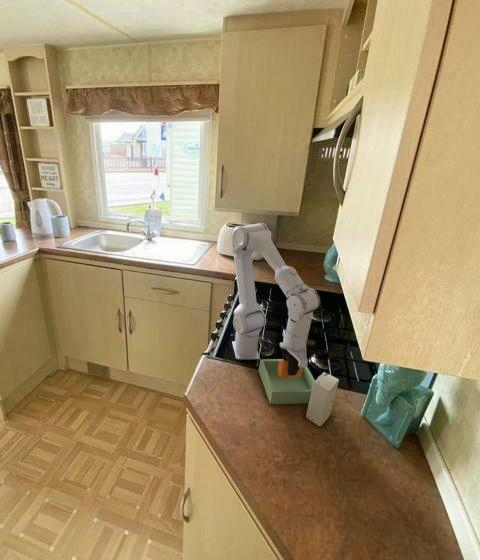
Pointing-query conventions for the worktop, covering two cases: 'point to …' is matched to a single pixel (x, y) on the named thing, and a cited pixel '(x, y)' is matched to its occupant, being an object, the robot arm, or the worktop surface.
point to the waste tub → (285, 384)
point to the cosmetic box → (322, 398)
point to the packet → (284, 373)
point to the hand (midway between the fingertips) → (289, 370)
